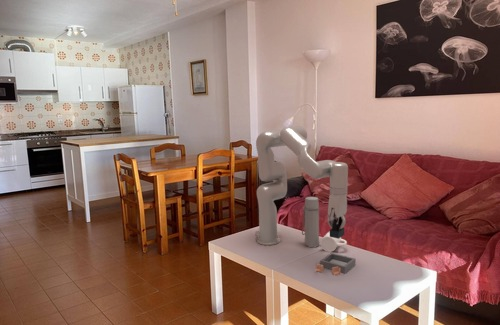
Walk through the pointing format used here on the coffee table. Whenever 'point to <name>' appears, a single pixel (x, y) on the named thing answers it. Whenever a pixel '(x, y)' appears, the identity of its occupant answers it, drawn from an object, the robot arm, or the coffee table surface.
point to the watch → (341, 231)
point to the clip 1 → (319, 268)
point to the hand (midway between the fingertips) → (337, 230)
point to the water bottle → (311, 221)
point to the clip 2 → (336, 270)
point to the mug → (331, 242)
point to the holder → (338, 262)
